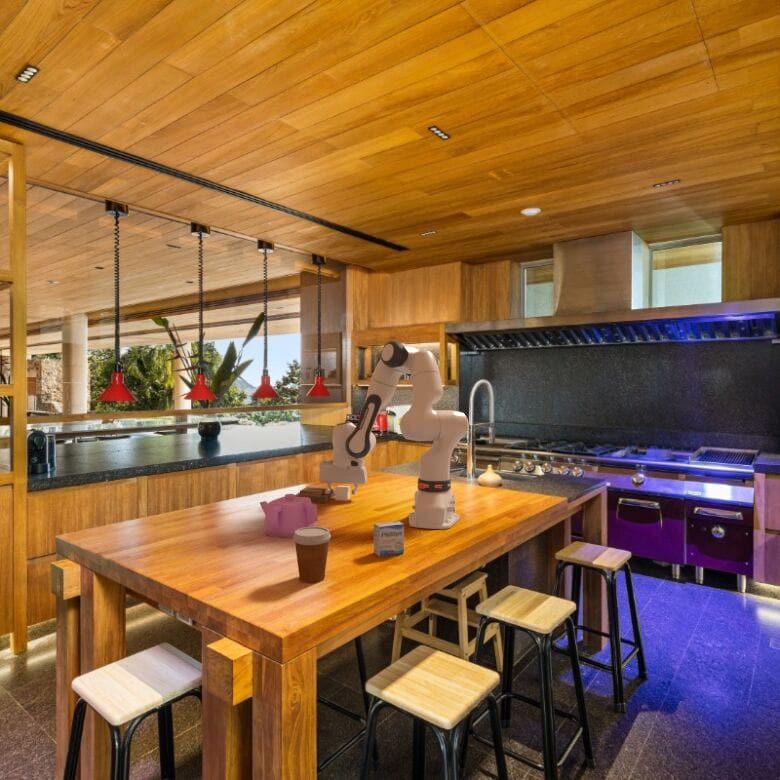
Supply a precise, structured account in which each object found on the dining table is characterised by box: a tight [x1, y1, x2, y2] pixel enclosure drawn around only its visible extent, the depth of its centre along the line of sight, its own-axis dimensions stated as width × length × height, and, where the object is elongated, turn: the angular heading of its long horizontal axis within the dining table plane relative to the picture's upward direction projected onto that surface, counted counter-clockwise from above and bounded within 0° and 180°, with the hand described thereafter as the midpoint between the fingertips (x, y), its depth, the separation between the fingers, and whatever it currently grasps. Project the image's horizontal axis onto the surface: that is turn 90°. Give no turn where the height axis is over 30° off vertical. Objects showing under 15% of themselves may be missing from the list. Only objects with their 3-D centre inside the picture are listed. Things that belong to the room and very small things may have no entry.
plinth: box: [294, 486, 335, 504], centre depth 223 cm, size 14×14×4 cm
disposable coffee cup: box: [292, 526, 332, 584], centre depth 135 cm, size 10×10×12 cm
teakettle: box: [259, 493, 319, 539], centre depth 176 cm, size 17×17×12 cm
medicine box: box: [373, 520, 405, 558], centre depth 154 cm, size 8×4×9 cm, turn 114°
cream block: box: [334, 485, 351, 502], centre depth 223 cm, size 5×5×5 cm
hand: (343, 493), depth 223 cm, fingers open, 8 cm apart
